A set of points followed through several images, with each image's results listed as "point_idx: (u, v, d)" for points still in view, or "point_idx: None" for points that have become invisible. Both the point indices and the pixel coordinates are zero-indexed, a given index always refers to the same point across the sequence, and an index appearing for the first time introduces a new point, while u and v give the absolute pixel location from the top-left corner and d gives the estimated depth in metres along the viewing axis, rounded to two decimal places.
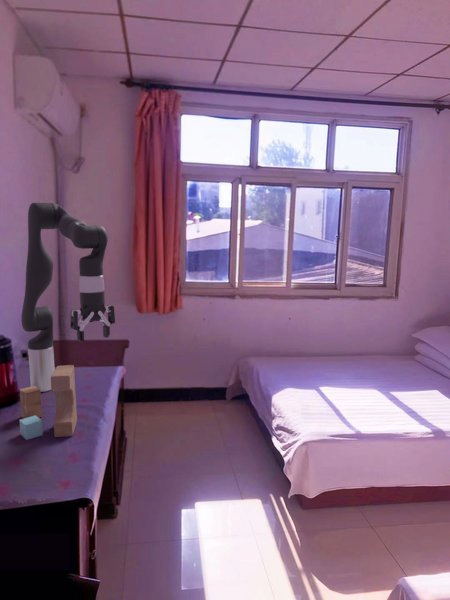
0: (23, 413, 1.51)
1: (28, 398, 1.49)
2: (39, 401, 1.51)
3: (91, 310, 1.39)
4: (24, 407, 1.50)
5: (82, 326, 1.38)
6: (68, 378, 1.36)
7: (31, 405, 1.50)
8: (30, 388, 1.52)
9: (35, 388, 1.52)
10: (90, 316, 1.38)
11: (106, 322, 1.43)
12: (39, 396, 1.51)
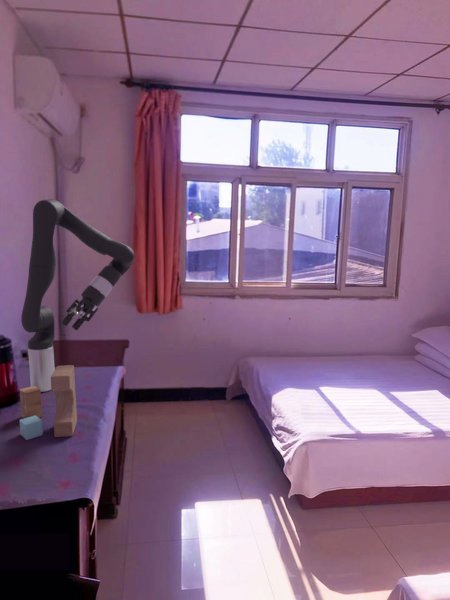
0: (23, 413, 1.51)
1: (28, 398, 1.49)
2: (39, 401, 1.51)
3: None
4: (24, 407, 1.50)
5: None
6: (68, 378, 1.36)
7: (31, 405, 1.50)
8: (30, 388, 1.52)
9: (35, 388, 1.52)
10: None
11: None
12: (39, 396, 1.51)
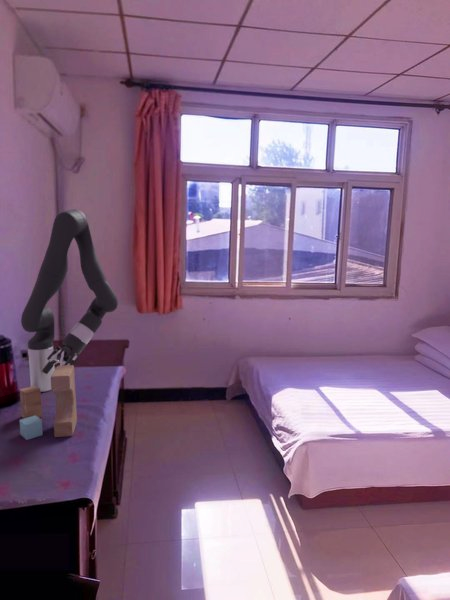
0: (23, 413, 1.51)
1: (28, 398, 1.49)
2: (39, 401, 1.51)
3: None
4: (24, 407, 1.50)
5: None
6: (68, 378, 1.36)
7: (31, 405, 1.50)
8: (30, 388, 1.52)
9: (35, 388, 1.52)
10: None
11: None
12: (39, 396, 1.51)
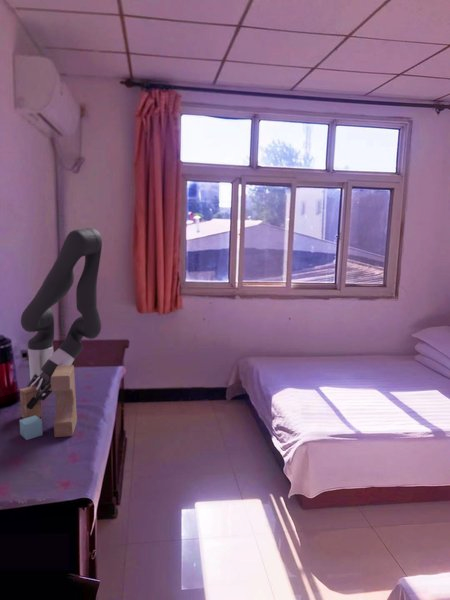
0: (23, 413, 1.51)
1: (27, 398, 1.48)
2: (39, 401, 1.51)
3: None
4: (24, 407, 1.50)
5: None
6: (68, 378, 1.36)
7: None
8: (30, 388, 1.52)
9: (35, 388, 1.52)
10: None
11: None
12: None
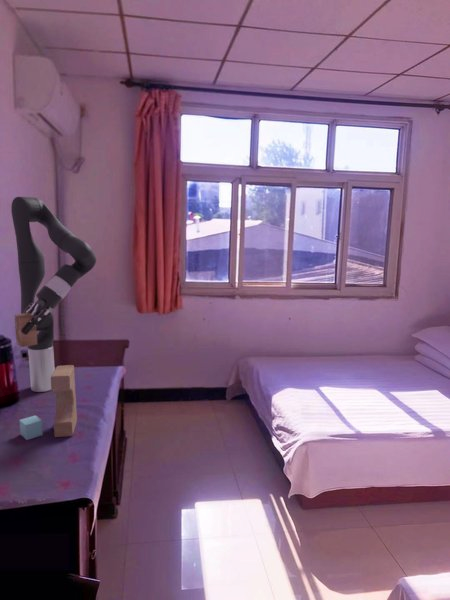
0: (18, 339, 1.47)
1: (22, 322, 1.44)
2: (34, 327, 1.47)
3: None
4: (19, 333, 1.45)
5: None
6: (68, 378, 1.36)
7: None
8: (25, 314, 1.47)
9: (30, 314, 1.47)
10: None
11: None
12: None
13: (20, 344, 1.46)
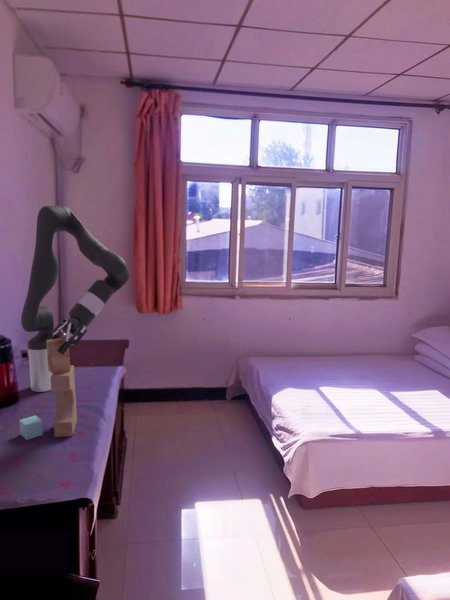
0: (50, 366, 1.38)
1: (55, 348, 1.35)
2: (67, 353, 1.38)
3: None
4: (51, 360, 1.37)
5: None
6: (68, 378, 1.36)
7: (59, 357, 1.37)
8: (57, 339, 1.39)
9: (63, 339, 1.39)
10: None
11: None
12: None
13: (53, 372, 1.37)
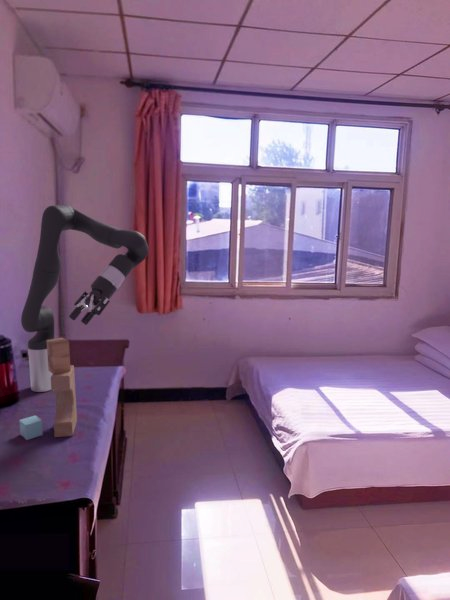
0: (50, 366, 1.38)
1: (55, 348, 1.35)
2: (67, 353, 1.38)
3: None
4: (51, 359, 1.37)
5: None
6: (68, 378, 1.36)
7: (59, 357, 1.37)
8: (58, 339, 1.39)
9: (63, 339, 1.39)
10: None
11: None
12: (68, 348, 1.38)
13: (53, 372, 1.37)
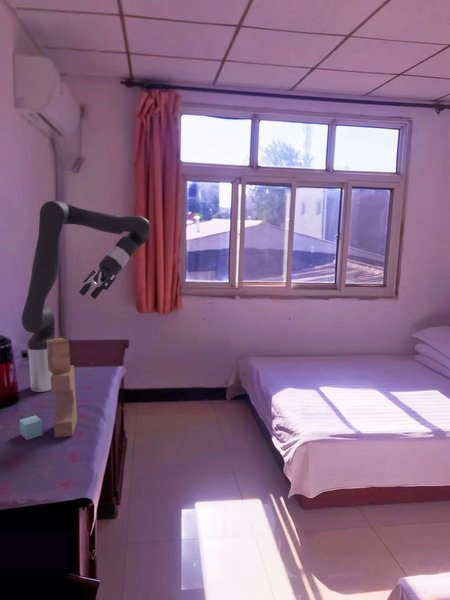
0: (50, 366, 1.38)
1: (55, 349, 1.35)
2: (67, 353, 1.38)
3: None
4: (51, 360, 1.37)
5: None
6: (68, 378, 1.36)
7: (59, 357, 1.37)
8: (58, 339, 1.39)
9: (63, 339, 1.39)
10: None
11: None
12: (67, 348, 1.38)
13: (53, 372, 1.37)
